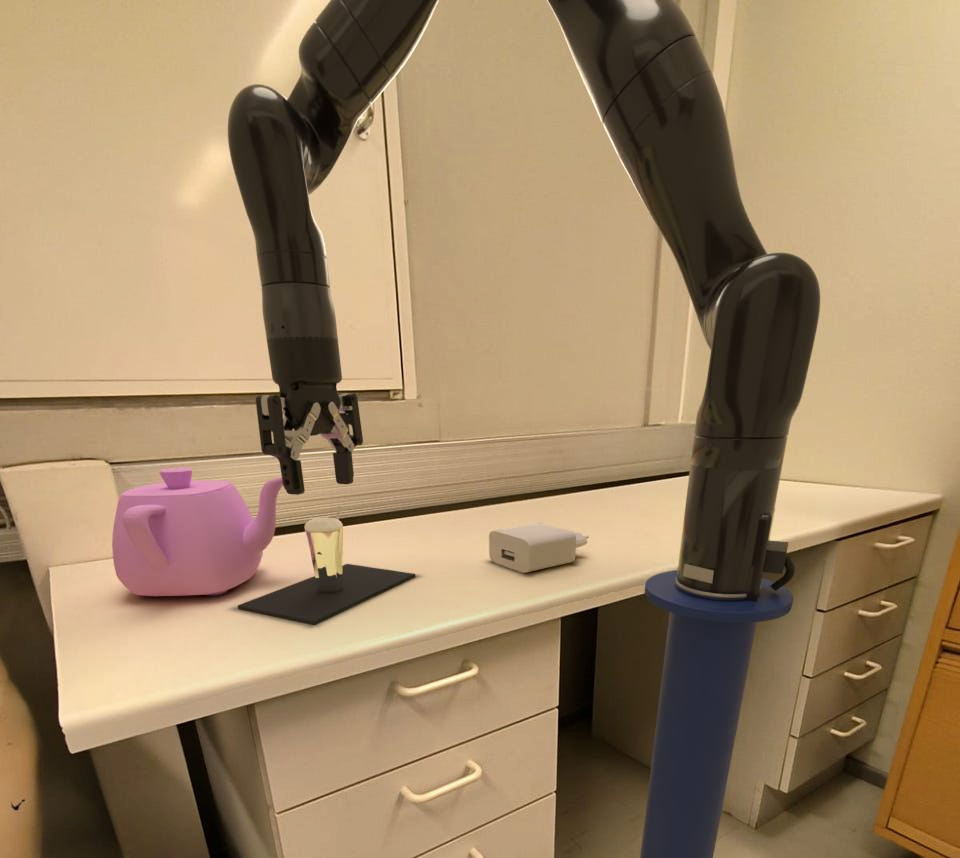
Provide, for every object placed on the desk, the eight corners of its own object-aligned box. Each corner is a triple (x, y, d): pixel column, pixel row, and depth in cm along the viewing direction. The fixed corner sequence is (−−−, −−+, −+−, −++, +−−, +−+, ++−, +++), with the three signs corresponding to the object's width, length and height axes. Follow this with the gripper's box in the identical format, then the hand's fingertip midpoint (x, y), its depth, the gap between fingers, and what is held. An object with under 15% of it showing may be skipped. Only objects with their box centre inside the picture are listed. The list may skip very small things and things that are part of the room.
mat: (415, 576, 80) (415, 573, 80) (314, 624, 64) (313, 621, 64) (347, 566, 85) (347, 563, 85) (237, 608, 69) (237, 605, 69)
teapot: (81, 618, 67) (40, 484, 61) (168, 567, 86) (143, 461, 80) (280, 614, 67) (258, 480, 61) (322, 564, 87) (309, 458, 81)
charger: (605, 557, 88) (528, 575, 80) (563, 545, 95) (488, 560, 87) (607, 526, 86) (529, 541, 78) (564, 516, 93) (488, 529, 85)
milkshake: (361, 585, 76) (353, 507, 72) (331, 596, 71) (322, 515, 68) (335, 580, 78) (326, 504, 74) (305, 591, 74) (294, 511, 70)
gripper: (278, 329, 56) (302, 500, 62) (370, 338, 67) (383, 482, 74) (224, 334, 59) (252, 496, 66) (321, 342, 71) (337, 479, 77)
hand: (321, 488), depth 70 cm, fingers open, 8 cm apart
